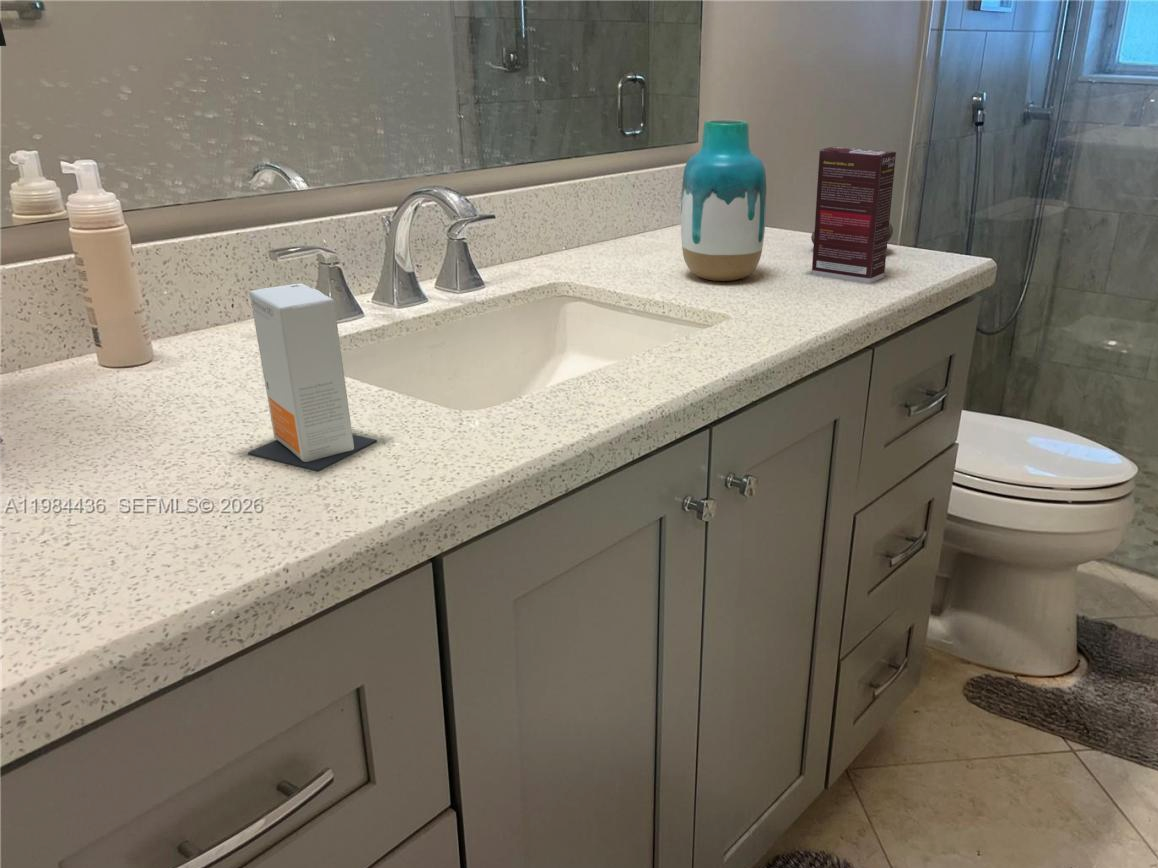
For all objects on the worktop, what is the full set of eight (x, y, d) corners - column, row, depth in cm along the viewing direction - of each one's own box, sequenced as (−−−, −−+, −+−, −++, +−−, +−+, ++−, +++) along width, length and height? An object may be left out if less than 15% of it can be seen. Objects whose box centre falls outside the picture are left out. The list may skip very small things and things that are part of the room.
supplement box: (885, 279, 135) (898, 150, 128) (869, 286, 131) (882, 154, 124) (825, 269, 139) (835, 145, 132) (808, 276, 136) (818, 148, 129)
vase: (778, 283, 132) (788, 123, 123) (709, 293, 127) (714, 127, 118) (731, 266, 140) (737, 115, 131) (664, 275, 135) (665, 119, 126)
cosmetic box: (272, 440, 82) (246, 289, 76) (324, 428, 84) (303, 281, 79) (303, 464, 78) (278, 307, 72) (357, 451, 80) (336, 297, 75)
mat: (248, 458, 80) (247, 452, 79) (310, 430, 85) (309, 424, 85) (318, 475, 77) (317, 469, 77) (377, 445, 82) (377, 439, 82)
